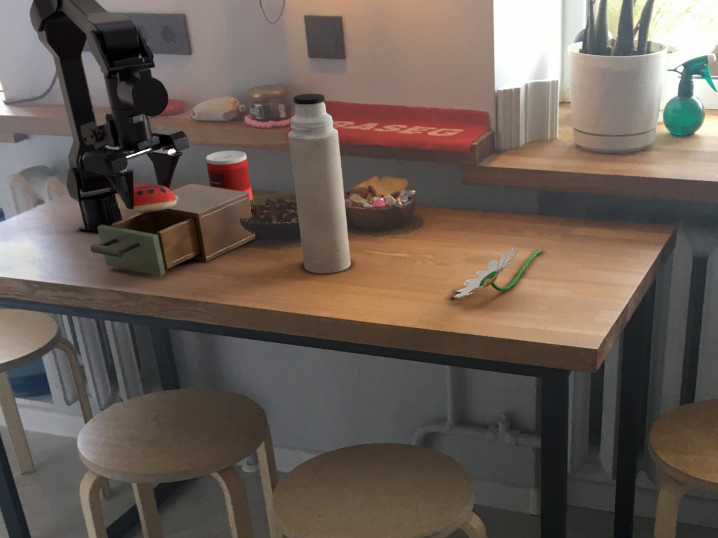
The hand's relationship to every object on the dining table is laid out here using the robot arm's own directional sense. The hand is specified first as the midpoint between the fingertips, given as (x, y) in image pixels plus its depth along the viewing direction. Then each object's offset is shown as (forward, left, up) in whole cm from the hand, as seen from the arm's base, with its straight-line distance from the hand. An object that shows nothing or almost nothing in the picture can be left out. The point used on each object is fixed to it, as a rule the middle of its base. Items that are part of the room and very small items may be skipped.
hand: (147, 202), depth 171 cm
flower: (+62, +8, -11) cm, 63 cm away
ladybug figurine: (0, 0, -1) cm, 1 cm away
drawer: (0, -3, -10) cm, 10 cm away
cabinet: (+2, +11, -11) cm, 15 cm away
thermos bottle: (+29, +7, -11) cm, 32 cm away
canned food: (-2, +30, -11) cm, 32 cm away
